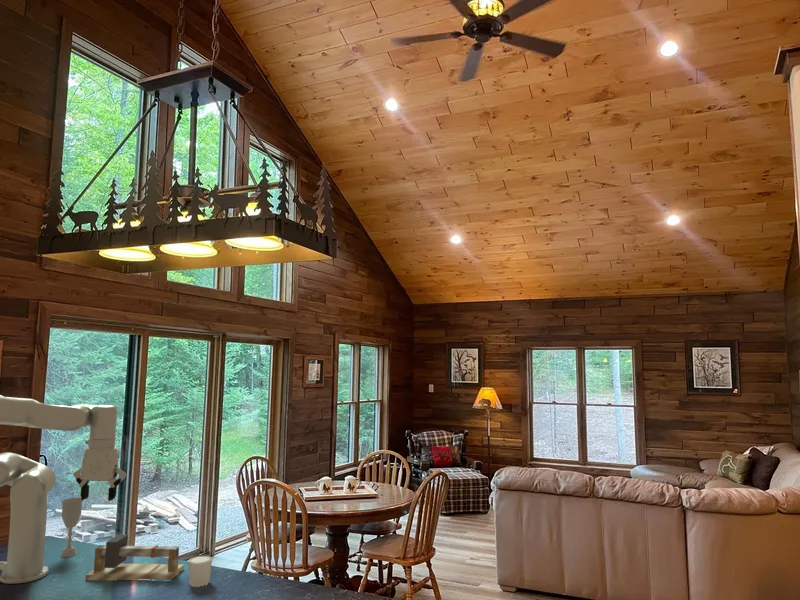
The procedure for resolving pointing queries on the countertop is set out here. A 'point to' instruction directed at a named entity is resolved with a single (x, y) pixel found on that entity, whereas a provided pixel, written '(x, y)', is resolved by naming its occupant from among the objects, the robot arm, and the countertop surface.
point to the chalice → (70, 521)
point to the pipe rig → (137, 570)
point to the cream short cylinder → (199, 570)
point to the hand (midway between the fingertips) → (98, 499)
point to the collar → (115, 551)
